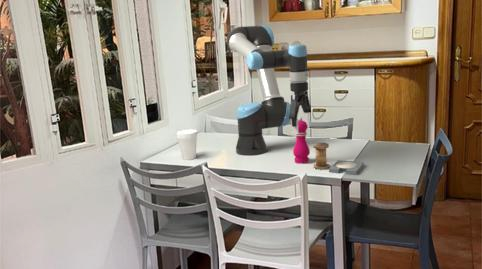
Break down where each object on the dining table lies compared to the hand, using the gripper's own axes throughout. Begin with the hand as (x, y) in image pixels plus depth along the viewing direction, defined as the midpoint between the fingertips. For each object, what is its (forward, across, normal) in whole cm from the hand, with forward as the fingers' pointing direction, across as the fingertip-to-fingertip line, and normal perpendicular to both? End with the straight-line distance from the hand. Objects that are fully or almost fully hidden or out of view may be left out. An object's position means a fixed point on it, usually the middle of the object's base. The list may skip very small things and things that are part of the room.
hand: (301, 130), depth 201 cm
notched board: (+14, -5, -21) cm, 26 cm away
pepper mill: (+14, 0, 0) cm, 14 cm away
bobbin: (+14, -6, -11) cm, 19 cm away
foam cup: (+14, -9, +54) cm, 57 cm away
